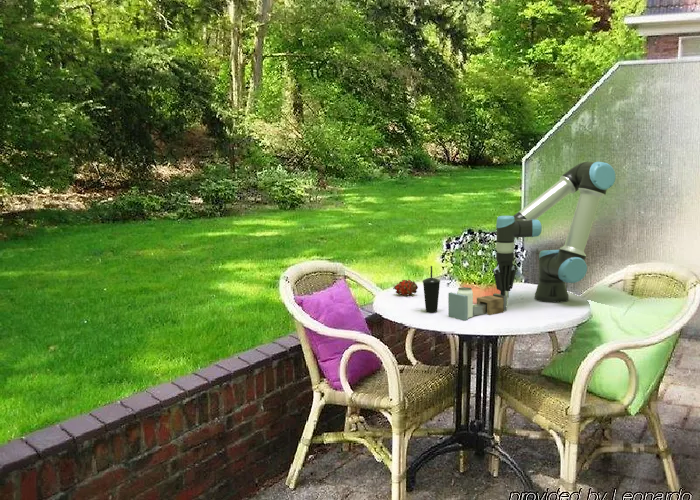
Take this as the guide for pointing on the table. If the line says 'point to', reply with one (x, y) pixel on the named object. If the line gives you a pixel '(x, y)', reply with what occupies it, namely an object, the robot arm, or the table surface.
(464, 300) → the end plate
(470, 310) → the can
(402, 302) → the table surface
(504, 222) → the robot arm
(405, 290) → the red pine cone
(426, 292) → the drinking cup
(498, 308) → the tan wooden block
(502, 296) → the shaft
